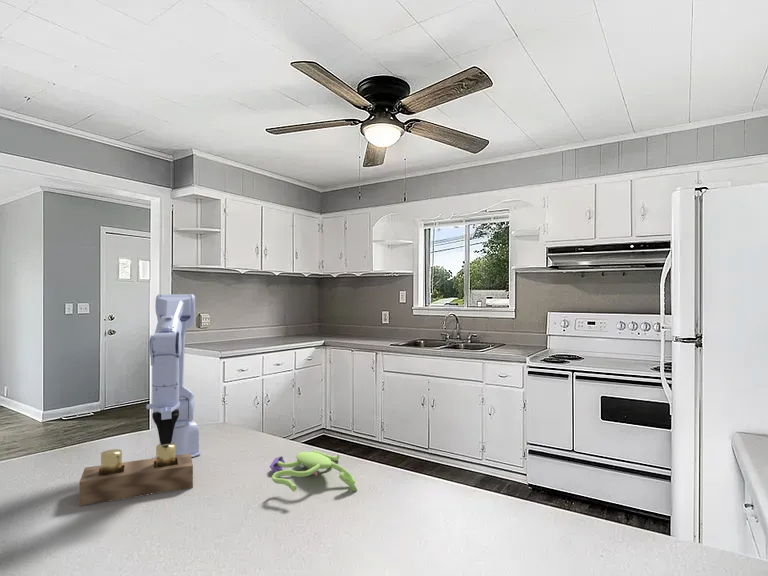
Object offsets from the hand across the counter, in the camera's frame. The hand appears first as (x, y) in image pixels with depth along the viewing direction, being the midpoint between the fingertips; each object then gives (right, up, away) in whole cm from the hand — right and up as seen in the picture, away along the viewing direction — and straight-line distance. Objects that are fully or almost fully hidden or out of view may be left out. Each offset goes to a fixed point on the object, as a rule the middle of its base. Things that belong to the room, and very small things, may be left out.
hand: (165, 443), depth 113 cm
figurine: (+33, -10, +3) cm, 35 cm away
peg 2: (0, -6, 0) cm, 6 cm away
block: (-5, -10, -2) cm, 11 cm away
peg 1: (-10, -6, -5) cm, 12 cm away
